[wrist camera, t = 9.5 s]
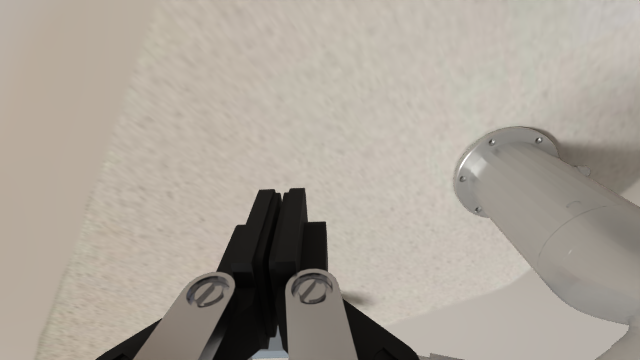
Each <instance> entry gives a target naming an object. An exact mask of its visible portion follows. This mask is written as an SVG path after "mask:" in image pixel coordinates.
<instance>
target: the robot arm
mask: <svg viewBox="0 0 640 360" xmlns="http://www.w3.org/2000/svg"><path fill="white" fill-rule="evenodd" d="M589 175H590V168H589V167H588V166H573V167H572V166H571V165H569V164H567V163H565V162H564V161H562V160H560V159H559V154H558V151H557V148H556V147H555V145H554V144H553V142H552V141H551V140H550V139H549V138H548V137H546V136H545V135H543V134H542V133H540V132H538V131H535V130H533V129H530V128H524V127H508V128H504V129H499V130H497V131H494V132H492V133H489V134H487V135H486V136H484V137H482V138H480V139H479V140H478V141H476V142H475V143H474V144H473V145H471V146H470V148H469V149H468V150H467V151H466V152H465V153H464V154H463V156H462V158H461V159H460V161H459V162H458V165H457V167H456V170H455V174H454V190H455V194H456V196H457V198H458V199H459V201H460V202H461V203H462V205H463V206H464V207H465V208H466V209H467V210H468V211H470V212H471V213H473V214H475V215H478V216H481V217H485V218H490V219H491V220H492V221H493V222H494V224H495V225H496V226H497V227H498V228H499V230H500V231H501V232H502V233H503V234H504V235H505V237H506V238H507V239H508V240H509V241H510V242H511V244H512V245H513V246H514V247H515V248H516V250H517V251H518V252H519V253H520V254H521V255H522V257H523V258H524V259H525V260H526V261H527V262H528V264H529V265H530V266H531V267H532V268H533V269H534V271H535V272H536V273H537V274H538V275H539V276H540V278H541V279H542V280H543V281H544V282H545V283H546V285H547V286H548V287H549V288H550V289H551V290H552V291H553V292H554V293H555V294H556V295H557V296H558V297H559V298H560V299H561V300H562V301H564V302H565V303H566V304H568V305H569V306H571V307H573V308H574V309H576V310H578V311H580V312H583V313H585V314H588V315H591V316H593V317H597V318H600V319H604V320H607V321H612V322H616V323H621V324H625V325H629V329H628V331H627V333H626V334H625V335H624V336H623V337H622V338H620V339H619V340H618V341H617V342H616V343H614V344H613V345H612V347H611V348H610V349H608V350H607V351H606V352H605V353H603V354H602V355H601V356H599V357H598V358H597V359H595V360H640V207H638V206H637V205H635V204H633V203H631V202H630V201H628V200H626V199H625V198H623V197H621V196H619V195H618V194H616V193H614V192H613V191H611V190H609V189H608V188H606V187H604V186H602V185H601V184H599V183H597V182H596V181H594V180H592V179H590V178H589V177H587V176H589ZM278 327H279V333H280V337H281V342H282V348H283V349H284V351H285V352H286V353H287V354H288V356H289V360H463V359H457V358H452V357H447V356H441V355H437V354H432V353H431V354H430V358H429V357H424V356H419V355H417V354H416V353H415V352H414V351H413V350H412V349H411V348H410V347H409V346H408V345H406V344H405V343H404V342H402V341H401V340H399V339H398V338H397V337H395V336H394V335H392V334H391V333H389V332H388V331H387V330H386V329H384V328H383V327H381V326H380V325H379V324H377V323H376V322H374V321H373V320H372V319H370V318H369V317H368V316H366V315H365V314H363V313H362V312H361V311H359V310H358V309H356V308H355V307H354V306H352V305H351V304H350V303H348V302H347V301H345V300H344V299H343V298H342V296H341V292H340V288H339V285H338V282H337V280H336V278H335V277H334V276H333V275H332V274H331V273H329V272H328V253H327V231H326V222H308V217H307V205H306V194H305V188H291V189H290V190H289V192H287V193H284V196H283V200H282V199H281V194H280V193H276V192H275V189H267V190H259V191H258V194H257V197H256V199H255V202H254V204H253V207H252V209H251V212H250V215H249V217H248V220H247V222H246V225H237V226H236V228H235V230H234V232H233V234H232V237H231V239H230V241H229V243H228V246H227V248H226V250H225V253H224V255H223V257H222V260H221V262H220V264H219V267H218V269H217V271H216V272H211V273H207V274H203V275H201V276H199V277H197V278H195V279H194V280H192V281H191V282H190V283H189V284H188V285H187V286H186V287H185V288H184V289H183V290H182V292H181V293H180V295H179V296H178V297H177V299H176V300H175V302H174V303H173V304H172V306H171V307H170V309H169V310H168V311H167V313H166V314H165V316H164V317H163V318H162V319H160V320H158V321H157V322H155V323H153V324H152V325H150V326H148V327H147V328H145V329H143V330H142V331H140V332H139V333H137V334H135V335H134V336H132V337H130V338H129V339H127V340H125V341H124V342H122V343H120V344H119V345H117V346H115V347H114V348H112V349H110V350H109V351H107V352H105V353H104V354H102V355H101V356H100V357H98V358H97V359H96V360H252V356H253V355H254V354H255V353H257V352H258V351H259V350H260V349H268V348H269V342H270V338H275V337H276V334H277V328H278Z"/></svg>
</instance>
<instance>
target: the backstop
mask: <svg viewBox="0 0 640 360" xmlns="http://www.w3.org/2000/svg"><path fill="white" fill-rule="evenodd" d="M256 358H289V356H288V354H287V353H286V352H285V351H284V349H283V348H282V342H281V337H280V333H279V327H278V328H277V334H276V337H275V338H270V342H269V348H268V349H260V350H259V351H258V352H257V353H255V354H254V355H253V356H252V359H256Z"/></svg>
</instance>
